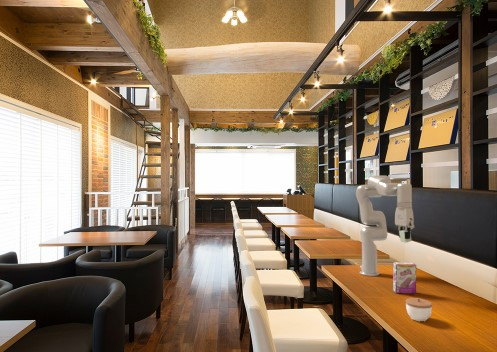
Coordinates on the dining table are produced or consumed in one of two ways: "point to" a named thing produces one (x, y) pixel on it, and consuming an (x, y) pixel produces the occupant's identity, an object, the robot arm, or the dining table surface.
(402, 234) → the sage block
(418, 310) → the lidded jar
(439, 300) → the dining table surface
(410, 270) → the candy bar box
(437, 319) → the dining table surface
